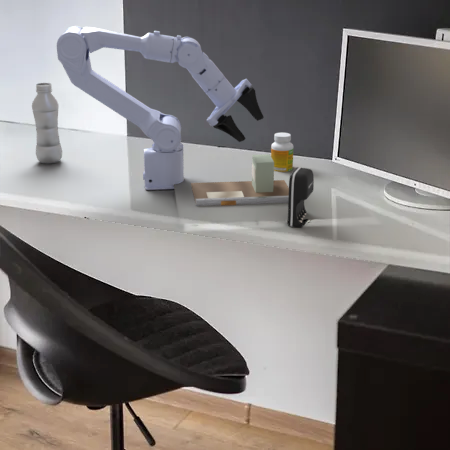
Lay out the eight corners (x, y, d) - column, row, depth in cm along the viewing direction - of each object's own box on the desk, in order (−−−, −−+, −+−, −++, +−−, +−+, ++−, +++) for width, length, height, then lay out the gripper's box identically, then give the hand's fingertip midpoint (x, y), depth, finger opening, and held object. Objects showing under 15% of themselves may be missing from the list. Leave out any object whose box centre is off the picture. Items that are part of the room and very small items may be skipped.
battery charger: (304, 229, 168) (307, 176, 164) (286, 227, 170) (288, 174, 165) (313, 218, 175) (315, 166, 170) (295, 215, 176) (298, 164, 171)
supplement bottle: (290, 177, 200) (292, 138, 196) (268, 175, 201) (269, 136, 197) (293, 170, 205) (295, 132, 201) (272, 168, 206) (273, 130, 202)
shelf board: (196, 211, 178) (196, 200, 177) (190, 187, 192) (190, 178, 191) (296, 207, 180) (297, 197, 179) (284, 184, 194) (284, 175, 193)
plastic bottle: (68, 161, 210) (63, 83, 203) (49, 168, 205) (43, 88, 198) (49, 157, 214) (43, 80, 206) (30, 163, 208) (24, 85, 201)
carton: (254, 192, 186) (255, 162, 183) (251, 183, 191) (251, 154, 189) (273, 191, 186) (274, 162, 183) (269, 183, 192) (270, 154, 189)
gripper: (205, 100, 179) (243, 146, 183) (242, 59, 186) (278, 105, 190) (188, 107, 185) (226, 152, 189) (225, 68, 192) (261, 112, 196)
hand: (251, 129), depth 190 cm, fingers open, 7 cm apart
